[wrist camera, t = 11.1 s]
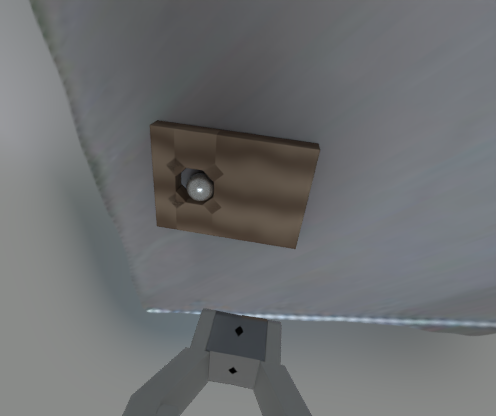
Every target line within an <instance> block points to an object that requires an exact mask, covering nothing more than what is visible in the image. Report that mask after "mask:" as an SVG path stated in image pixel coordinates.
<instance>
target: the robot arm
mask: <svg viewBox="0 0 496 416" xmlns="http://www.w3.org/2000/svg"><path fill="white" fill-rule="evenodd" d="M280 362H281V322H278V321H272V320H267V319H263V318H256V317H250V316H244V315H242V316H241V315H236V314H231V313H226V312H221V311H216V310H211V309H205V308H203V310H202V312H201V315H200V318H199V321H198V324H197V327H196V330H195V334H194V337H193V340H192V343H191V346H190V348H187V347H186V348H185V349H184V350H183V351H181V352H180V353H179V354H178V355H177V356H176V357H175V358H174V359H172V360H171V361H170V362H169V363H168V364H167V365H166V366H164V367H163V368H162V369H161V370H160V371H159V372H158V373H156V374H155V375H154V376H153V377H152V378H151V379H150V380H149V381H148V382H146V383H145V384H144V385H143V386H142V387H141V388H140V389H139V390H137V391H136V392H135V393H134V394H133V395H132V396H131V398H130V400H129V402H128V404H127V406H126V409H125V411H124V413H123V415H122V416H180V415H181V414H182V412H183V411H184V410H185V409H186V407H187V406H188V405H189V404H190V403H191V402H192V400H193V399H194V398H195V397H196V396H197V394H198V393H199V392H200V391H201V390H202V389H203V387H204V386H205V385H206V384H207V382H208V381H213V382H219V383H225V384H231V385H236V386H240V387H245V388H250V389H254V393H255V396H256V399H257V401H258V404H259V407H260V410H261V412H262V415H263V416H312V415H311V413H310V411H309V409H308V408H307V406H306V404H305V402H304V400H303V399H302V397H301V395H300V393H299V391H298V389H297V388H296V386H295V384H294V382H293V380H292V379H291V377H290V375H289V373H288V371H287V369H286V367H285V366H284V365H280Z"/></svg>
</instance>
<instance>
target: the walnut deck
mask: <svg viewBox="0 0 496 416" xmlns="http://www.w3.org/2000/svg"><path fill="white" fill-rule="evenodd" d="M150 135H151V150H152V164H153V178H154V192H155V206H156V220H157V226H159V227H165V228H171V229H177V230H183V231H189V232H195V233H201V234H207V235H213V236H219V237H225V238H231V239H238V240H244V241H250V242H256V243H262V244H268V245H274V246H280V247H286V248H292V249H296V245H297V241H298V237H299V233H300V229H301V225H302V221H303V217H304V213H305V209H306V205H307V201H308V197H309V193H310V189H311V185H312V181H313V177H314V173H315V169H316V165H317V161H318V157H319V153H320V148H319V144H317V143H310V142H303V141H296V140H289V139H282V138H275V137H269V136H262V135H255V134H248V133H241V132H234V131H227V130H220V129H213V128H207V127H200V126H193V125H186V124H179V123H172V122H165V121H158V120H157V121H156V122H154V123H152V124H151V125H150ZM186 168H191V169H197V170H204V172H205V173H206V174H207V175H208V177H209V178H210V179H211V180H212V181H213V182H214V193H213V195H212V196H211V197H210V198H209V199H207V200H205V201H196V200H194V199H192V198H191V197H190V196H189V194H188V192H187V189H186V188H185V187H184V186H183V185H181V172H182V171H183V170H184V169H186Z"/></svg>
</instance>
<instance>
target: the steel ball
mask: <svg viewBox="0 0 496 416" xmlns="http://www.w3.org/2000/svg"><path fill="white" fill-rule="evenodd" d="M186 188H187V192H188V194H189V196H190V197H191V198H192V199H194V200H196V201H205V200H207V199H209V198H210V197H211V196H212V195H213V193H214V182H213V181H212V180H211V179H210V178H209V177H208V175H206V174H203V173H198V174H195V175H193V176H191V177H190V178H189V180H188V182H187V186H186Z"/></svg>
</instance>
